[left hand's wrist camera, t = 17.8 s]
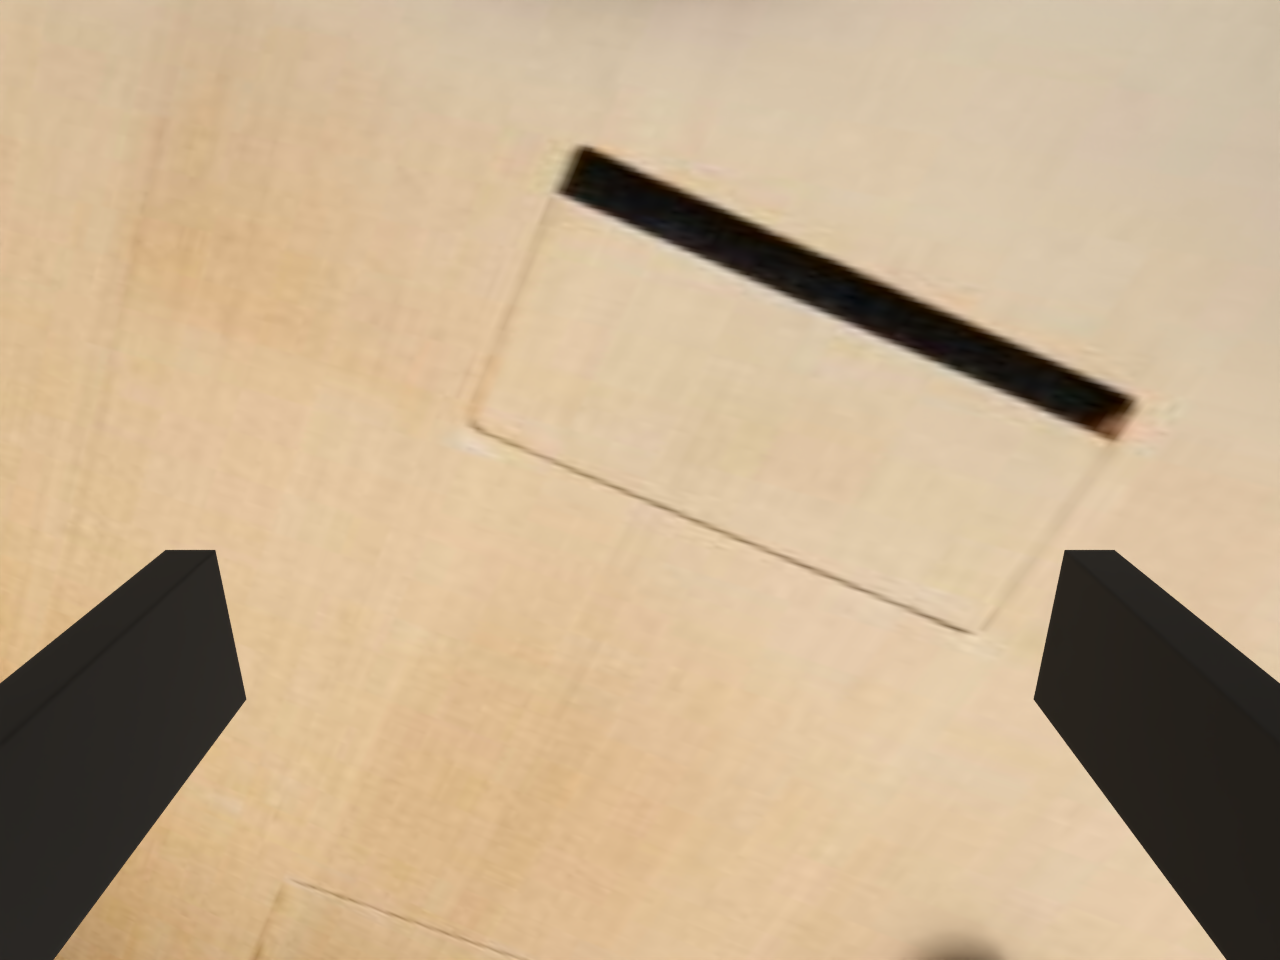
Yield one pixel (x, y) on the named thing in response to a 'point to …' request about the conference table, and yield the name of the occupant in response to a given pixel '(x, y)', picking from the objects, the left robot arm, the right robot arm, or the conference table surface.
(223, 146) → the conference table surface
